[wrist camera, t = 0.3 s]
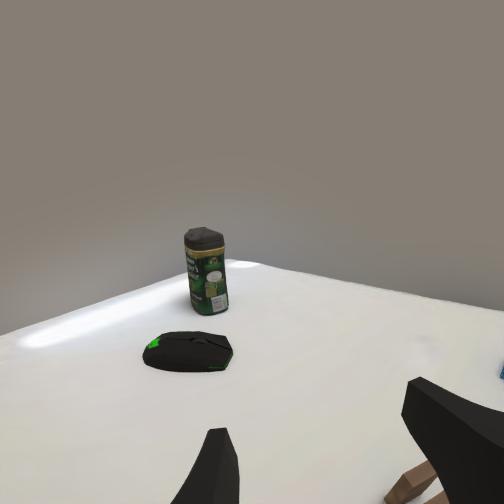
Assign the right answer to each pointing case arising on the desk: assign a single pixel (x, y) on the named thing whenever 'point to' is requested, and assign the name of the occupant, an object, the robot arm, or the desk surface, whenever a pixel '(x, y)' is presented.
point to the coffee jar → (206, 270)
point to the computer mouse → (188, 352)
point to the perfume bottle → (502, 374)
